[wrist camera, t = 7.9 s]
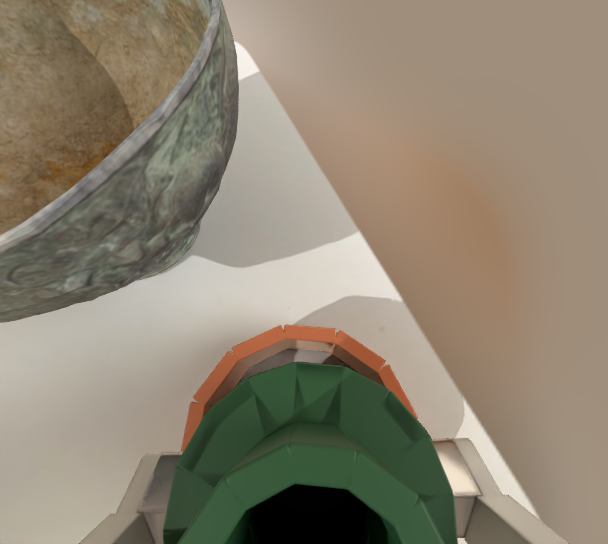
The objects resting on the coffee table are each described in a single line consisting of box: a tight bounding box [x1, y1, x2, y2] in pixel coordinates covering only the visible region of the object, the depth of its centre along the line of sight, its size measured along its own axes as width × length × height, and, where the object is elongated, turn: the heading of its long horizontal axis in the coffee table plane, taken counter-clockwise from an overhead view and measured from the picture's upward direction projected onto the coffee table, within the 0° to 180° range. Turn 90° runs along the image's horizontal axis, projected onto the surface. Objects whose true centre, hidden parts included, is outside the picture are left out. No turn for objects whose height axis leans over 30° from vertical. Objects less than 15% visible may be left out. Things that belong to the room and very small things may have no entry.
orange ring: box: [181, 325, 418, 452], centre depth 17 cm, size 12×12×4 cm
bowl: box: [0, 0, 239, 323], centre depth 17 cm, size 20×19×15 cm
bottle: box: [163, 362, 458, 544], centre depth 10 cm, size 6×6×14 cm
